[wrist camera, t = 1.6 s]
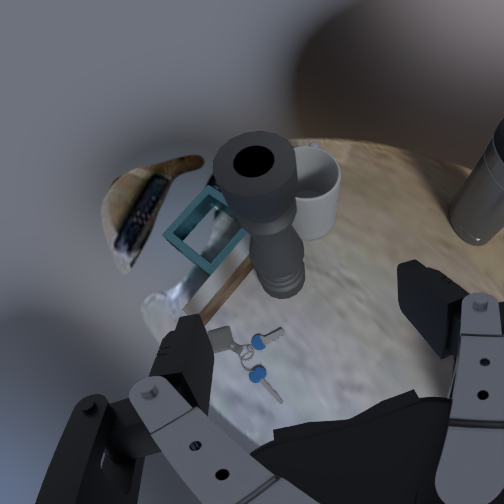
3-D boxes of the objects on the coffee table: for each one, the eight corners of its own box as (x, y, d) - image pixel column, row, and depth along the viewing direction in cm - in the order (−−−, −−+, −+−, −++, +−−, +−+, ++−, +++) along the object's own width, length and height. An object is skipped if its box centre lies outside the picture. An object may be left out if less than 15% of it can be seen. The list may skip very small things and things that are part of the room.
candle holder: (278, 308, 41) (241, 218, 18) (251, 273, 44) (193, 160, 21) (314, 280, 42) (320, 164, 19) (287, 248, 44) (263, 116, 21)
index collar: (214, 196, 50) (208, 184, 47) (263, 229, 46) (260, 218, 43) (171, 244, 48) (162, 234, 45) (218, 283, 44) (211, 275, 41)
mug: (331, 245, 43) (337, 206, 33) (273, 236, 45) (263, 195, 35) (340, 178, 47) (346, 131, 37) (289, 171, 49) (283, 123, 39)
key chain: (200, 342, 41) (198, 341, 41) (236, 296, 43) (235, 295, 42) (281, 404, 36) (280, 405, 36) (319, 354, 38) (319, 354, 37)
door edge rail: (271, 228, 46) (266, 210, 41) (282, 235, 45) (278, 217, 40) (195, 317, 42) (181, 309, 38) (205, 326, 42) (192, 319, 37)
